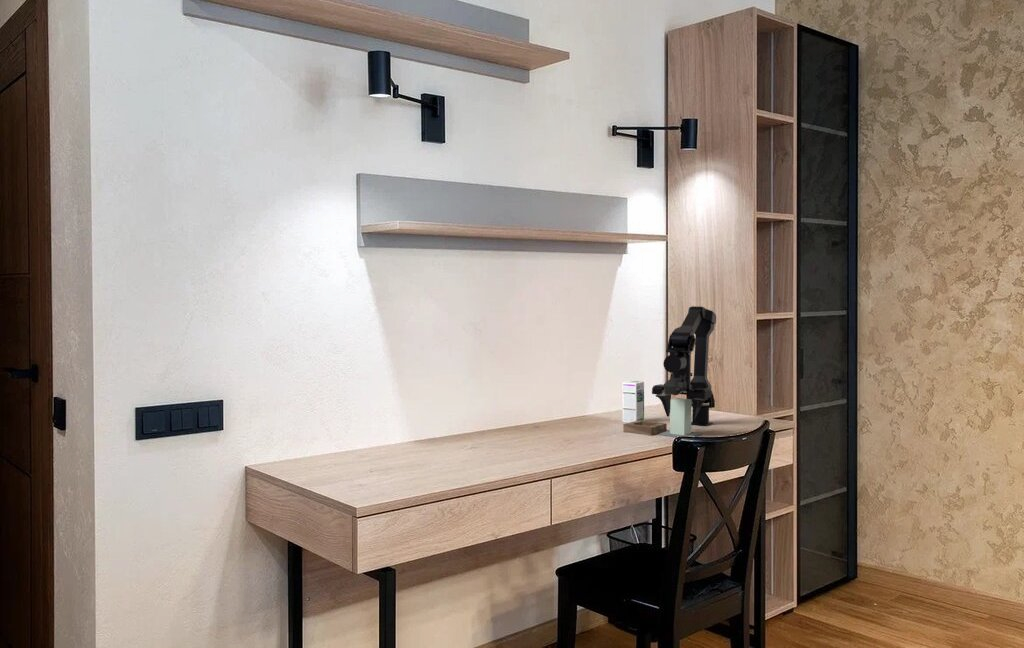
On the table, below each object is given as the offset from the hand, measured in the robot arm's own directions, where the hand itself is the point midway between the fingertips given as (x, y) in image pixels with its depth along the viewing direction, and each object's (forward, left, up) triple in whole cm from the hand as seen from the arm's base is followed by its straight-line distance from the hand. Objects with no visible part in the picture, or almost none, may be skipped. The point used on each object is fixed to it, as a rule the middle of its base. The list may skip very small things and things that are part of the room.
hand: (680, 417), depth 276 cm
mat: (0, 0, -6) cm, 6 cm away
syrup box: (-11, -24, -6) cm, 27 cm away
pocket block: (+2, -12, -6) cm, 13 cm away
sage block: (0, 0, -5) cm, 5 cm away
